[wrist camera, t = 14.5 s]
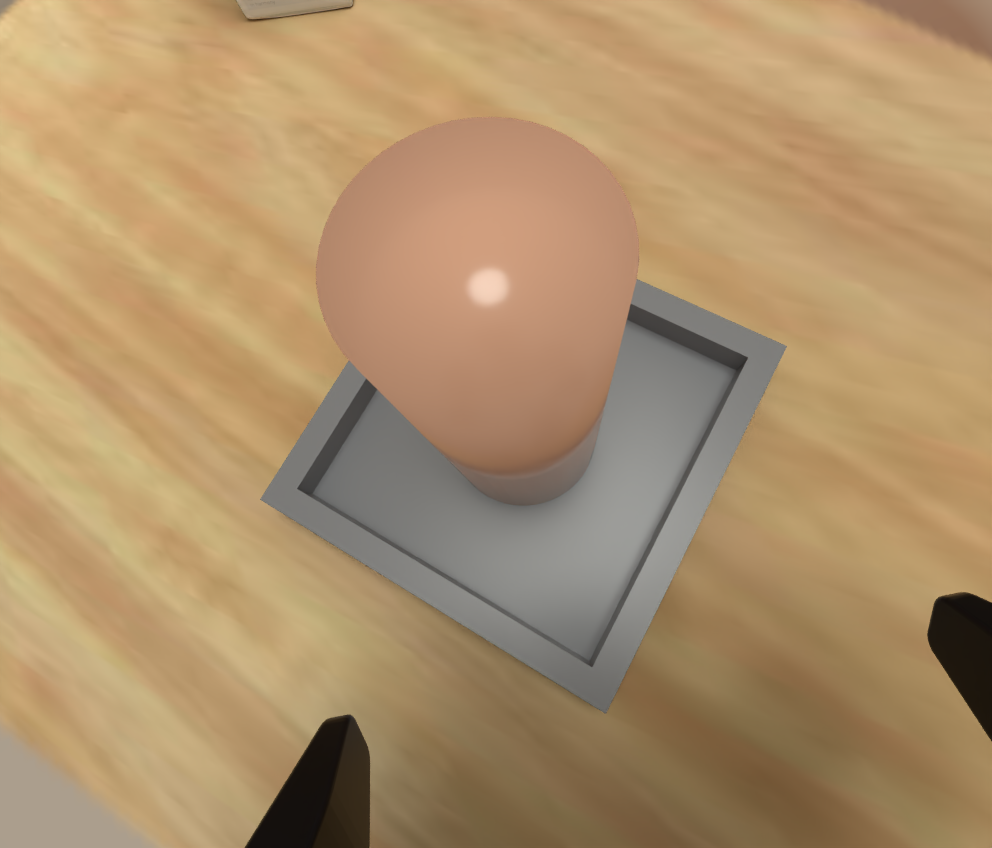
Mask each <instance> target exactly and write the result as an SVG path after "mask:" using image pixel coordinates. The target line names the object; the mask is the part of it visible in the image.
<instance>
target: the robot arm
mask: <svg viewBox="0 0 992 848" xmlns="http://www.w3.org/2000/svg"><path fill="white" fill-rule="evenodd" d="M927 636H928V641H929V645H930V647H931V649H932V651H933V653H934V654H935V656H936V657H937V659H938V660H939V662H940V663H941V665H942V666H943V668H944V669H945V671H946V673H947V674H948V676H949V677H950V679H951V680H952V682H953V683H954V685H955V686H956V688H957V689H958V691H959V692H960V694H961V695H962V697H963V698H964V700H965V702H966V703H967V705H968V706H969V708H970V709H971V711H972V712H973V714H974V715H975V717H976V718H977V720H978V721H979V723H980V724H981V726H982V728H983V729H984V731H985V732H986V734H987V735H988V737H989V738H990V739H991V741H992V603H991V602H989V601H987V600H985V599H983V598H980V597H978V596H976V595H973V594H971V593H966V592H960V593H955V594H950V595H945V596H940V597H938V598H937V599H936V600H935V603H934V606H933V610H932V615H931V619H930V624H929V628H928V633H927ZM245 848H370V755H369V749H368V746H367V744H366V741H365V739H364V737H363V735H362V733H361V731H360V729H359V726H358V724H357V722H356V720H355V718H354V717H353V716H352V715H343V716H338V717H333V718H329V719H327V720H325V721H324V722H323V723H322V725H321V726H320V728H319V729H318V731H317V732H316V734H315V736H314V737H313V739H312V740H311V742H310V744H309V745H308V747H307V748H306V750H305V752H304V753H303V755H302V756H301V758H300V760H299V761H298V763H297V764H296V766H295V768H294V769H293V771H292V773H291V774H290V776H289V777H288V779H287V781H286V782H285V784H284V785H283V787H282V789H281V790H280V792H279V793H278V795H277V797H276V798H275V800H274V801H273V803H272V805H271V806H270V808H269V809H268V811H267V813H266V814H265V816H264V817H263V819H262V821H261V822H260V824H259V825H258V827H257V829H256V830H255V832H254V833H253V835H252V837H251V838H250V840H249V842H248V843H247V845H246V846H245Z"/></svg>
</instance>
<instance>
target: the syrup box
mask: <svg viewBox="0 0 992 848" xmlns="http://www.w3.org/2000/svg"><path fill="white" fill-rule="evenodd" d="M236 2H237V3H238V5H239V7H240V8H241V10H242V12H243V13H244V15H245V16H246V17H247V18H249V19H261V18H275V17H284V16H291V15H300V14H305V13H312V12H319V11H325V10H332V9H338V8H344V7H351V6H352V4H353V0H236Z"/></svg>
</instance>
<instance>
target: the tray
mask: <svg viewBox="0 0 992 848" xmlns="http://www.w3.org/2000/svg"><path fill="white" fill-rule="evenodd" d="M786 347H787V346H785V345H783V344H781V343H779V342H776V341H774V340H772V339H770V338H767V337H765V336H763V335H761V334H758V333H756V332H754V331H752V330H749V329H747V328H745V327H743V326H741V325H738V324H736V323H734V322H732V321H729V320H727V319H725V318H723V317H720V316H718V315H716V314H714V313H711V312H709V311H707V310H705V309H702V308H700V307H698V306H696V305H694V304H691V303H689V302H687V301H685V300H682V299H680V298H678V297H676V296H673V295H671V294H669V293H667V292H664V291H662V290H660V289H658V288H656V287H653V286H651V285H649V284H647V283H644V282H642V281H640V280H638V279H637V280H636V284H635V288H634V292H633V296H632V300H631V304H630V308H629V312H628V316H627V320H626V324H625V328H624V333H623V337H622V341H621V345H620V349H619V353H618V357H617V361H616V365H615V369H614V373H613V377H612V381H611V385H610V389H609V393H608V397H607V401H606V405H605V409H604V413H603V417H602V421H601V425H600V429H599V433H598V437H597V441H596V445H595V449H594V452H593V456H592V459H591V461H590V463H589V466H588V468H587V469H586V471H585V473H584V474H583V476H582V477H581V478H580V479H579V481H578V482H577V483H576V484H575V485H574V486H573V487H572V488H570V489H569V490H568V491H566V492H565V493H564V494H562V495H560V496H559V497H557V498H555V499H553V500H550V501H547V502H545V503H540V504H536V505H527V506H521V505H511V504H506V503H502V502H499V501H496V500H494V499H492V498H490V497H488V496H486V495H485V494H483V493H482V492H480V491H479V490H478V489H477V488H475V487H474V486H473V485H472V484H471V483H470V482H469V481H468V480H467V479H466V478H465V477H464V476H463V475H462V474H461V473H460V472H459V471H458V470H457V469H456V468H455V467H454V466H453V465H452V464H451V463H450V462H449V461H448V460H447V459H446V458H445V457H444V456H443V455H442V454H441V453H440V452H439V451H438V450H437V449H436V448H435V447H434V446H433V445H432V444H431V443H430V442H429V441H428V440H427V439H426V438H425V437H424V436H423V435H422V434H421V433H420V432H419V431H418V430H417V429H416V428H415V427H414V426H413V425H412V424H411V423H410V422H409V421H408V420H407V419H406V418H405V417H404V416H403V415H402V414H401V413H400V412H399V411H398V410H397V409H396V408H395V407H394V406H393V405H392V404H391V403H390V402H389V401H388V400H387V399H386V398H385V397H384V396H383V395H382V394H381V393H380V392H379V391H378V390H377V389H376V388H375V387H374V386H373V385H372V384H371V383H370V382H369V381H368V380H367V379H366V378H365V377H364V376H363V375H362V374H361V373H360V372H359V371H358V370H357V369H356V367H355V366H354V365H353V364H352V363H351V362H350V361H348V363H347V364H346V366H345V367H344V369H343V371H342V372H341V374H340V375H339V377H338V378H337V380H336V382H335V383H334V385H333V386H332V388H331V389H330V391H329V392H328V394H327V396H326V397H325V399H324V400H323V402H322V403H321V405H320V407H319V408H318V410H317V411H316V413H315V414H314V416H313V418H312V419H311V421H310V422H309V424H308V425H307V427H306V428H305V430H304V432H303V433H302V435H301V436H300V438H299V439H298V441H297V443H296V444H295V446H294V447H293V449H292V450H291V452H290V454H289V455H288V457H287V458H286V460H285V461H284V463H283V465H282V466H281V468H280V469H279V471H278V472H277V474H276V475H275V477H274V479H273V480H272V482H271V483H270V485H269V486H268V488H267V490H266V491H265V493H264V494H263V496H262V497H261V499H260V500H262V501H263V502H265V503H267V504H268V505H270V506H271V507H273V508H275V509H276V510H278V511H280V512H281V513H283V514H284V515H286V516H288V517H289V518H291V519H292V520H294V521H296V522H297V523H299V524H301V525H302V526H304V527H305V528H307V529H309V530H310V531H312V532H313V533H315V534H317V535H318V536H320V537H321V538H323V539H325V540H326V541H328V542H330V543H331V544H333V545H334V546H336V547H338V548H339V549H341V550H342V551H344V552H346V553H347V554H349V555H350V556H352V557H354V558H355V559H357V560H359V561H360V562H362V563H363V564H365V565H367V566H368V567H370V568H371V569H373V570H375V571H376V572H378V573H379V574H381V575H383V576H384V577H386V578H388V579H389V580H391V581H392V582H394V583H396V584H397V585H399V586H400V587H402V588H404V589H405V590H407V591H409V592H410V593H412V594H413V595H415V596H417V597H418V598H420V599H421V600H423V601H425V602H426V603H428V604H429V605H431V606H433V607H434V608H436V609H438V610H439V611H441V612H442V613H444V614H446V615H447V616H449V617H450V618H452V619H454V620H455V621H457V622H458V623H460V624H462V625H463V626H465V627H467V628H468V629H470V630H471V631H473V632H475V633H476V634H478V635H479V636H481V637H483V638H484V639H486V640H487V641H489V642H491V643H492V644H494V645H496V646H497V647H499V648H500V649H502V650H504V651H505V652H507V653H508V654H510V655H512V656H513V657H515V658H517V659H518V660H520V661H521V662H523V663H525V664H526V665H528V666H529V667H531V668H533V669H534V670H536V671H537V672H539V673H541V674H542V675H544V676H546V677H547V678H549V679H550V680H552V681H554V682H555V683H557V684H558V685H560V686H562V687H563V688H565V689H566V690H568V691H570V692H571V693H573V694H575V695H576V696H578V697H579V698H581V699H583V700H584V701H586V702H587V703H589V704H591V705H592V706H594V707H595V708H597V709H599V710H600V711H602V712H604V713H605V714H606V712H607V710H608V708H609V706H610V704H611V702H612V700H613V698H614V696H615V694H616V692H617V690H618V688H619V686H620V684H621V682H622V680H623V678H624V676H625V674H626V672H627V670H628V668H629V666H630V664H631V662H632V660H633V658H634V656H635V654H636V651H637V649H638V647H639V645H640V643H641V641H642V639H643V637H644V635H645V633H646V631H647V629H648V627H649V625H650V623H651V621H652V619H653V617H654V615H655V613H656V611H657V609H658V607H659V605H660V603H661V601H662V599H663V597H664V595H665V593H666V591H667V589H668V587H669V585H670V582H671V580H672V578H673V576H674V574H675V572H676V570H677V568H678V566H679V564H680V562H681V560H682V558H683V556H684V554H685V552H686V550H687V548H688V546H689V544H690V542H691V540H692V538H693V536H694V534H695V532H696V530H697V528H698V526H699V524H700V522H701V520H702V518H703V515H704V513H705V511H706V509H707V507H708V505H709V503H710V501H711V499H712V497H713V495H714V493H715V491H716V489H717V487H718V485H719V483H720V481H721V479H722V477H723V475H724V473H725V471H726V469H727V467H728V465H729V463H730V461H731V459H732V457H733V455H734V453H735V451H736V448H737V446H738V444H739V442H740V440H741V438H742V436H743V434H744V432H745V430H746V428H747V426H748V424H749V422H750V420H751V418H752V416H753V414H754V412H755V410H756V408H757V406H758V404H759V402H760V400H761V398H762V396H763V394H764V392H765V390H766V388H767V386H768V384H769V382H770V379H771V377H772V375H773V373H774V371H775V369H776V367H777V365H778V363H779V361H780V359H781V357H782V355H783V353H784V351H785V349H786Z"/></svg>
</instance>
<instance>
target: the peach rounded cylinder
mask: <svg viewBox="0 0 992 848" xmlns="http://www.w3.org/2000/svg"><path fill="white" fill-rule="evenodd" d="M638 265H639V239H638V233H637V227H636V221H635V218H634V215H633V212H632V209H631V206H630V203H629V201H628V199H627V197H626V195H625V193H624V191H623V189H622V187H621V186H620V184H619V183H618V181H617V180H616V178H615V177H614V176H613V174H612V173H611V171H610V170H609V169H608V168H607V167H606V166H605V165H604V164H603V163H602V162H601V160H600V159H599V158H598V157H597V156H595V155H594V154H593V153H592V152H590V151H589V150H588V149H587V148H585V147H584V146H583V145H581V144H580V143H578V142H577V141H575V140H573V139H572V138H570V137H568V136H567V135H565V134H562V133H560V132H558V131H556V130H554V129H551V128H549V127H546V126H543V125H539V124H536V123H533V122H529V121H524V120H518V119H513V118H501V117H477V118H467V119H460V120H454V121H450V122H446V123H442V124H438V125H435V126H432V127H429V128H426V129H424V130H421V131H419V132H416V133H414V134H412V135H410V136H408V137H406V138H404V139H402V140H400V141H398V142H396V143H395V144H393V145H392V146H390V147H389V148H387V149H386V150H384V151H383V152H381V153H380V154H379V155H378V156H376V157H375V158H374V159H373V160H372V161H370V162H369V163H368V164H367V165H366V166H365V167H364V168H363V169H362V170H361V171H360V172H359V173H358V174H357V175H356V176H355V177H354V178H353V179H352V181H351V182H350V183H349V185H348V186H347V187H346V189H345V190H344V191H343V193H342V194H341V195H340V197H339V199H338V200H337V202H336V204H335V206H334V207H333V209H332V211H331V213H330V215H329V218H328V220H327V222H326V225H325V227H324V230H323V234H322V237H321V241H320V244H319V249H318V256H317V264H316V285H317V292H318V299H319V304H320V307H321V311H322V314H323V317H324V321H325V323H326V325H327V327H328V329H329V331H330V333H331V336H332V338H333V339H334V341H335V342H336V344H337V345H338V347H339V348H340V350H341V351H342V353H343V354H344V355H345V356H346V357H347V359H348V360H349V361H350V362H351V363H352V364H353V365H354V366H355V367H356V369H357V370H358V371H359V372H360V373H361V374H362V375H363V376H364V377H365V378H366V379H367V380H368V381H369V382H370V383H371V384H372V385H373V386H374V387H375V388H376V389H377V390H378V391H379V392H380V393H381V394H382V395H383V396H384V397H385V398H386V399H387V400H388V401H389V402H390V403H391V404H392V405H393V406H394V407H395V408H396V409H397V410H398V411H399V412H400V413H401V414H402V415H403V416H404V417H405V418H406V419H407V420H408V421H409V422H410V423H411V424H412V425H413V426H414V427H415V428H416V429H417V430H418V431H419V432H420V433H421V434H422V435H423V436H424V437H425V438H426V439H427V440H428V441H429V442H430V443H431V444H432V445H433V446H434V447H435V448H436V449H437V450H438V451H439V452H440V453H441V454H442V455H443V456H444V457H445V458H446V459H447V460H448V461H449V462H450V463H451V464H452V465H453V466H454V467H455V468H456V469H457V470H458V471H459V472H460V473H461V474H462V475H463V476H464V477H465V478H466V479H467V480H468V481H469V482H470V483H471V484H472V485H473V486H474V487H475V488H477V489H478V490H479V491H480V492H482V493H483V494H485V495H486V496H488V497H490V498H492V499H494V500H496V501H499V502H502V503H506V504H511V505H521V506H527V505H536V504H540V503H545V502H547V501H550V500H553V499H555V498H557V497H559V496H560V495H562V494H564V493H565V492H566V491H568V490H569V489H570V488H572V487H573V486H574V485H575V484H576V483H577V482H578V481H579V479H580V478H581V477H582V476H583V474H584V473H585V471H586V469H587V468H588V466H589V463H590V461H591V459H592V456H593V452H594V449H595V445H596V441H597V437H598V433H599V429H600V425H601V421H602V417H603V413H604V409H605V405H606V401H607V397H608V393H609V389H610V385H611V381H612V377H613V373H614V369H615V365H616V361H617V357H618V353H619V349H620V345H621V341H622V337H623V333H624V328H625V324H626V320H627V316H628V312H629V308H630V304H631V300H632V296H633V292H634V288H635V284H636V280H637V273H638Z"/></svg>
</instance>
